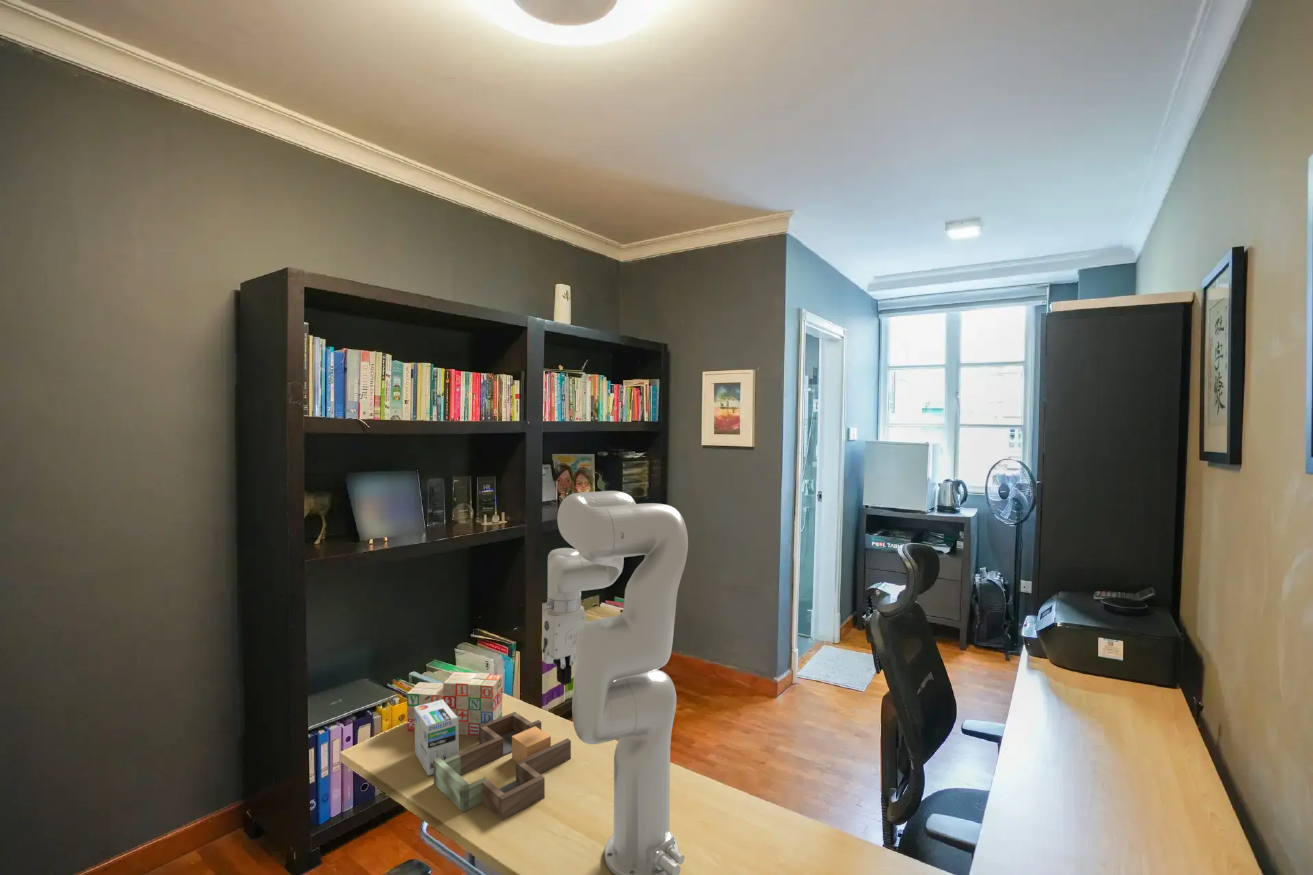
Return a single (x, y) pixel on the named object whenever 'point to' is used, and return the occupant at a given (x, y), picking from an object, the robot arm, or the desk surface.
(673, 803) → the desk surface
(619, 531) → the robot arm
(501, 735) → the box
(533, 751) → the block
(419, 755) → the light bulb box
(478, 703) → the stack of blocks
